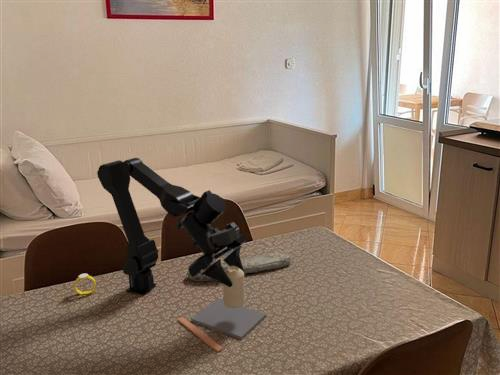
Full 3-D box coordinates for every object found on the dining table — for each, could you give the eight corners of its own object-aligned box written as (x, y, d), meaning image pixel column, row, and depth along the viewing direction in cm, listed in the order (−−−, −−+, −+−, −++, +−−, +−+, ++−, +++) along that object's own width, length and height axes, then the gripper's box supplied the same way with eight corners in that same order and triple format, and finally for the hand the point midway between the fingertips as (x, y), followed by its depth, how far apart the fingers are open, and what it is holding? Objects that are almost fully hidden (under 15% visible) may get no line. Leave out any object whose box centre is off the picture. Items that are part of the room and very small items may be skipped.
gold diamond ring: (75, 297, 140) (71, 279, 138) (76, 293, 142) (72, 275, 140) (97, 293, 141) (93, 275, 139) (97, 289, 143) (93, 271, 142)
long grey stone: (296, 272, 155) (284, 261, 164) (297, 257, 154) (284, 246, 163) (191, 286, 143) (184, 274, 152) (191, 270, 142) (183, 258, 151)
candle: (247, 306, 123) (247, 271, 120) (227, 310, 121) (226, 274, 118) (240, 296, 128) (240, 262, 125) (220, 299, 126) (219, 265, 123)
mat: (191, 321, 126) (190, 318, 126) (217, 300, 136) (217, 298, 135) (241, 339, 118) (241, 336, 117) (266, 316, 127) (266, 314, 127)
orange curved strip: (177, 320, 126) (177, 318, 126) (182, 318, 127) (182, 316, 127) (217, 352, 113) (217, 350, 113) (222, 349, 114) (222, 347, 114)
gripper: (195, 228, 112) (235, 282, 109) (239, 205, 127) (275, 252, 125) (172, 251, 118) (209, 303, 116) (216, 227, 133) (250, 272, 131)
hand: (237, 281), depth 122 cm, fingers closed on candle, 5 cm apart
